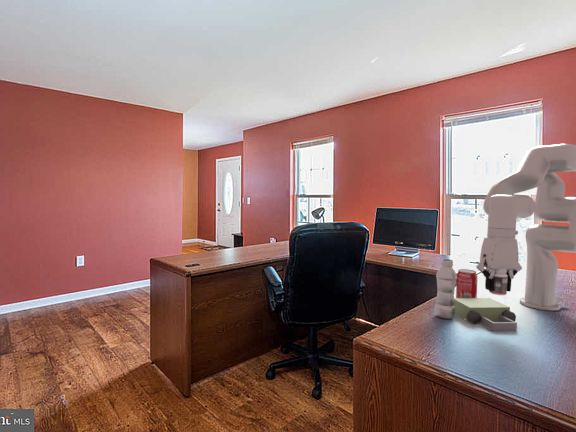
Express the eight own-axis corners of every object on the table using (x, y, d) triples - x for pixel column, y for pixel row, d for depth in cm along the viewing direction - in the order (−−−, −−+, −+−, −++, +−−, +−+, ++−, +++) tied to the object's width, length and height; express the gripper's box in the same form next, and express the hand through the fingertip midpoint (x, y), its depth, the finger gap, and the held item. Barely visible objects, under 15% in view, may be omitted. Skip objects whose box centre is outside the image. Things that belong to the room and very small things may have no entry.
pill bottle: (485, 292, 106) (487, 266, 105) (495, 290, 108) (496, 265, 107) (500, 296, 102) (501, 269, 101) (510, 294, 103) (511, 268, 103)
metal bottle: (453, 315, 115) (456, 259, 113) (456, 322, 108) (459, 262, 107) (433, 312, 117) (435, 257, 115) (435, 319, 110) (437, 261, 109)
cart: (488, 309, 121) (489, 296, 120) (528, 330, 102) (529, 314, 102) (446, 310, 120) (447, 296, 119) (480, 331, 101) (481, 315, 101)
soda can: (479, 307, 124) (481, 273, 123) (458, 305, 125) (460, 272, 124) (472, 301, 131) (474, 269, 130) (453, 300, 132) (454, 268, 131)
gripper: (517, 233, 108) (513, 287, 109) (468, 232, 107) (465, 286, 108) (536, 235, 101) (532, 293, 102) (483, 234, 99) (480, 293, 100)
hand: (497, 289), depth 105 cm, fingers closed on pill bottle, 4 cm apart
